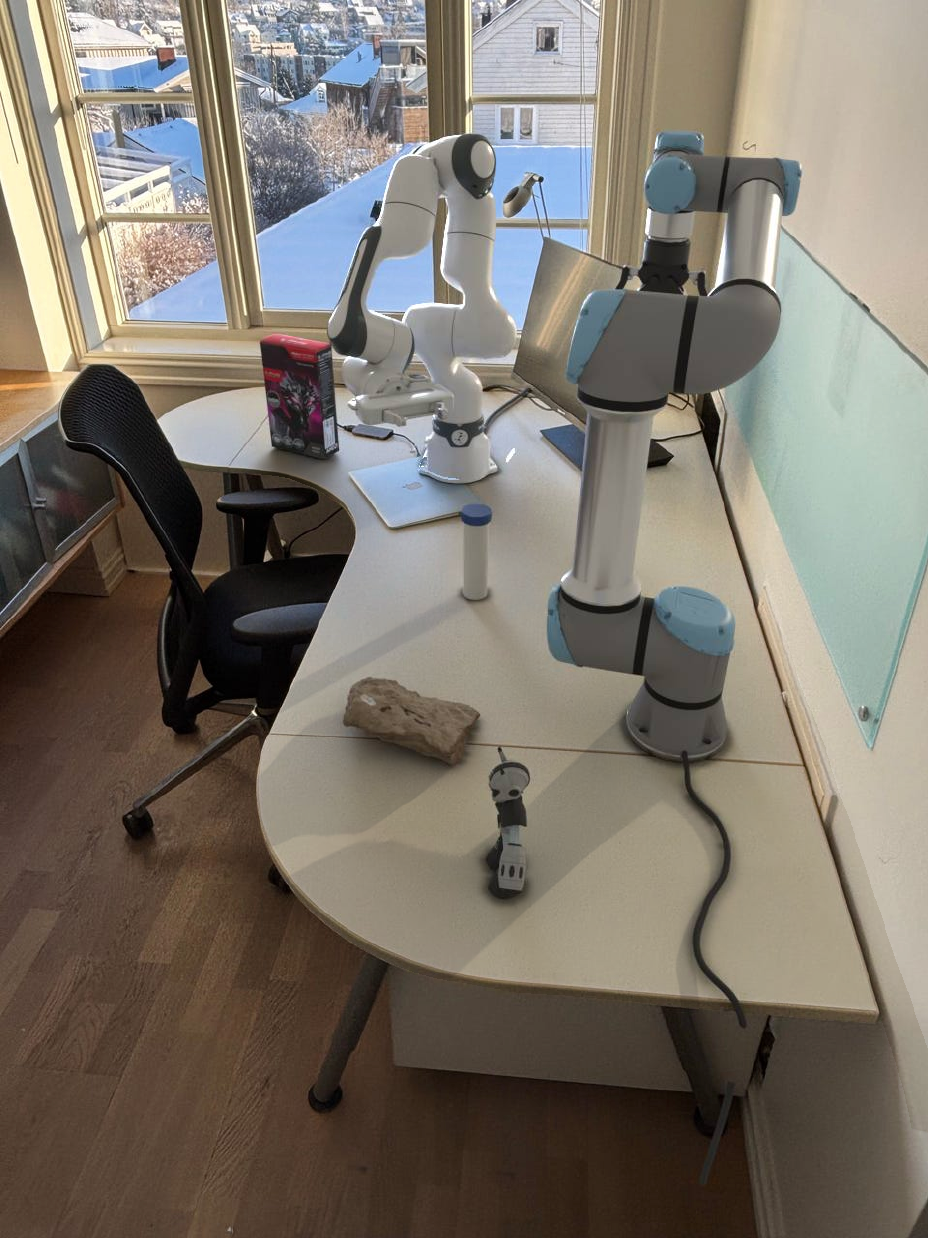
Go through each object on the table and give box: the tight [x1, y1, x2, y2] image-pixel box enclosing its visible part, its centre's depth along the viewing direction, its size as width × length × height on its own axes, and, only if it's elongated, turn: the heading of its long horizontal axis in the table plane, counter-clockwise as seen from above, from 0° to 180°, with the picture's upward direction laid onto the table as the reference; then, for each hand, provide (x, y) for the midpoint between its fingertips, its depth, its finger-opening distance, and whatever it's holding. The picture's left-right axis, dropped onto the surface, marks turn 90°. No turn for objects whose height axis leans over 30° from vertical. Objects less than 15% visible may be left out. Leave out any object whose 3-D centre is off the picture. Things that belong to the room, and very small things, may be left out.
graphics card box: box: [259, 333, 340, 460], centre depth 223 cm, size 17×7×27 cm, turn 62°
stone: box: [342, 676, 481, 766], centre depth 140 cm, size 21×15×6 cm
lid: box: [460, 502, 493, 526], centre depth 166 cm, size 6×6×2 cm
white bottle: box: [462, 523, 490, 601], centre depth 171 cm, size 5×5×17 cm
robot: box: [485, 746, 531, 899], centre depth 114 cm, size 20×5×20 cm, turn 3°
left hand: (424, 419), depth 178 cm, fingers open, 8 cm apart
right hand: (652, 364), depth 163 cm, fingers open, 13 cm apart
